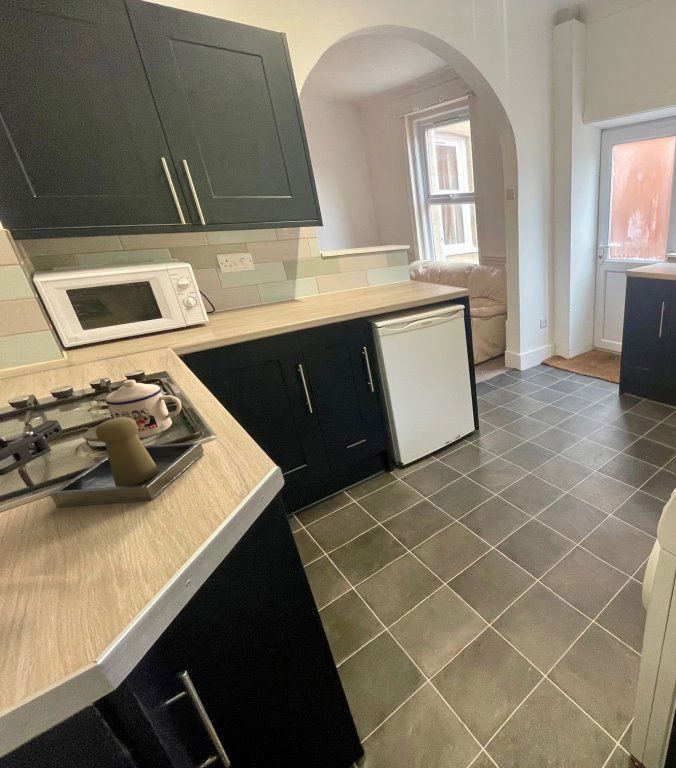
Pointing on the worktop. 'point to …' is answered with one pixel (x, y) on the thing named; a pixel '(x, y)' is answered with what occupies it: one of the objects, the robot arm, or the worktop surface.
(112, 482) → the dark grey square tray
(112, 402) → the teacup with lid
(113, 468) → the cork
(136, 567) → the worktop surface
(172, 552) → the worktop surface
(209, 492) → the worktop surface
